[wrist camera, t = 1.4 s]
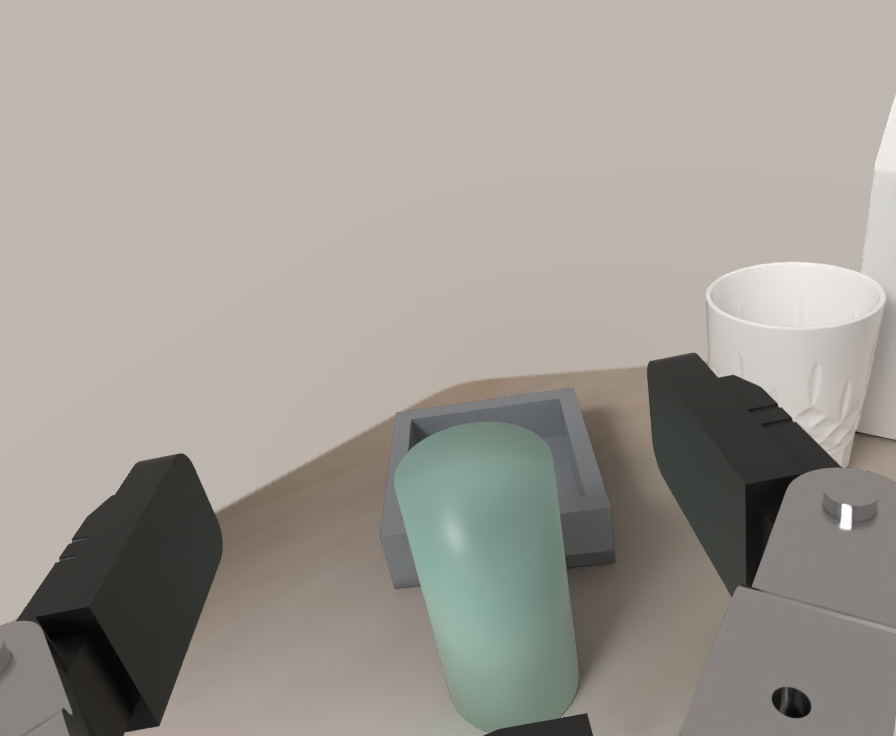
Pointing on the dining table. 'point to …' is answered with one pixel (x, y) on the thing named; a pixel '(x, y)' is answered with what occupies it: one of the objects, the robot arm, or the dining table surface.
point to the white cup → (800, 341)
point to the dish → (573, 466)
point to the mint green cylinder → (492, 570)
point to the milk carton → (892, 265)
